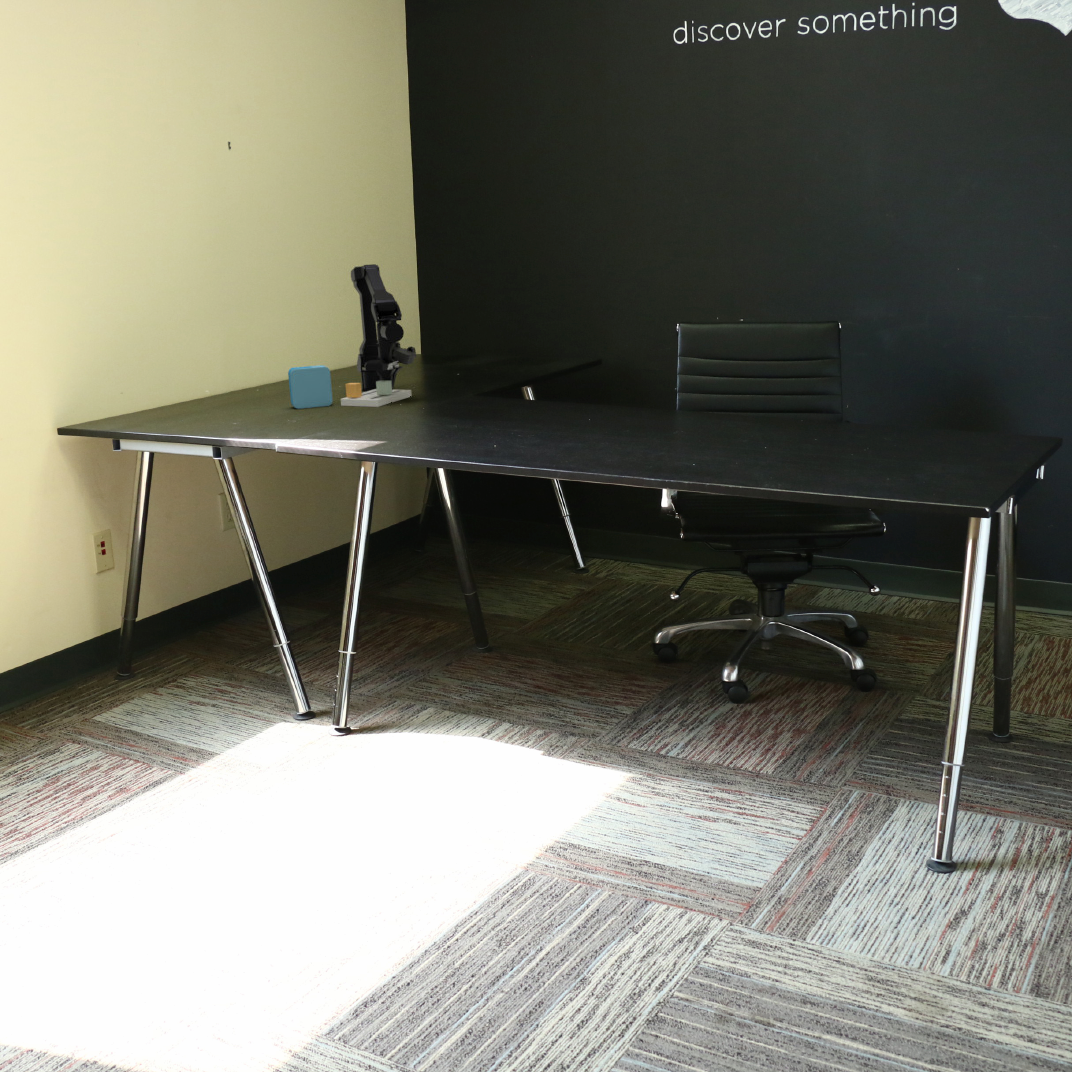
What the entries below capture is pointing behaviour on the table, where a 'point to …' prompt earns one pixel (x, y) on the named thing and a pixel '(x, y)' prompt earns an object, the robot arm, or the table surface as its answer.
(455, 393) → the table surface
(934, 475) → the table surface
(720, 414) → the table surface
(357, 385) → the amber fader
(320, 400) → the blue rounded block
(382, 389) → the sage fader
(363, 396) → the mixer console
